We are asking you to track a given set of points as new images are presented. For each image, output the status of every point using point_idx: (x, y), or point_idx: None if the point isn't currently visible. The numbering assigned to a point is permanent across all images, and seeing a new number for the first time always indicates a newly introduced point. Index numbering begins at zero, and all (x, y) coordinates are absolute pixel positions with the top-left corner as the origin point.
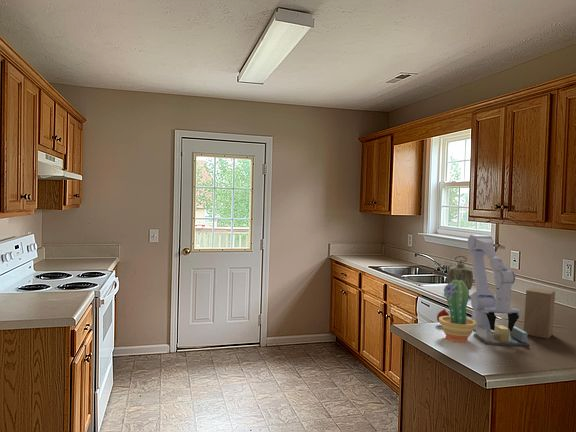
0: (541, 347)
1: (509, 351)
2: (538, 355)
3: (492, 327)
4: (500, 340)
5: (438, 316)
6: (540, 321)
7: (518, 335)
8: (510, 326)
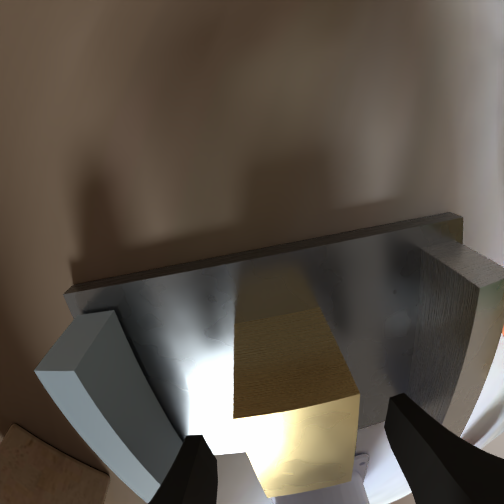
0: (9, 278)
1: (310, 45)
2: (73, 33)
3: (422, 413)
4: (320, 311)
5: None
6: (17, 500)
7: (130, 396)
8: (200, 480)
